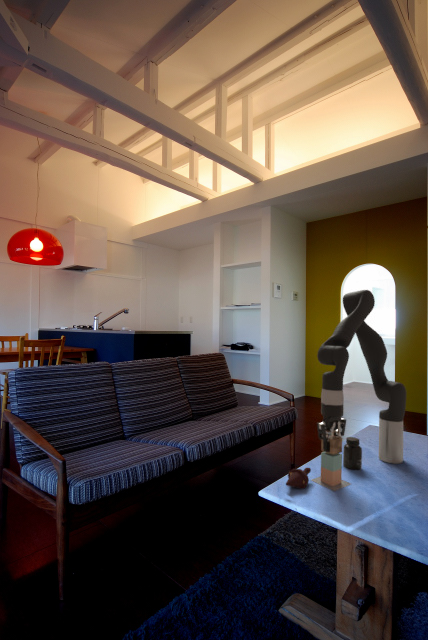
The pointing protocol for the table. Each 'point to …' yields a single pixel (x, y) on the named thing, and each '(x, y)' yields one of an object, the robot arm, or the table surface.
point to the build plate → (334, 488)
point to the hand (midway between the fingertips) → (331, 449)
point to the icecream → (298, 478)
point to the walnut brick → (334, 445)
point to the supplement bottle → (352, 454)
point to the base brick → (331, 476)
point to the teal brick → (331, 461)
